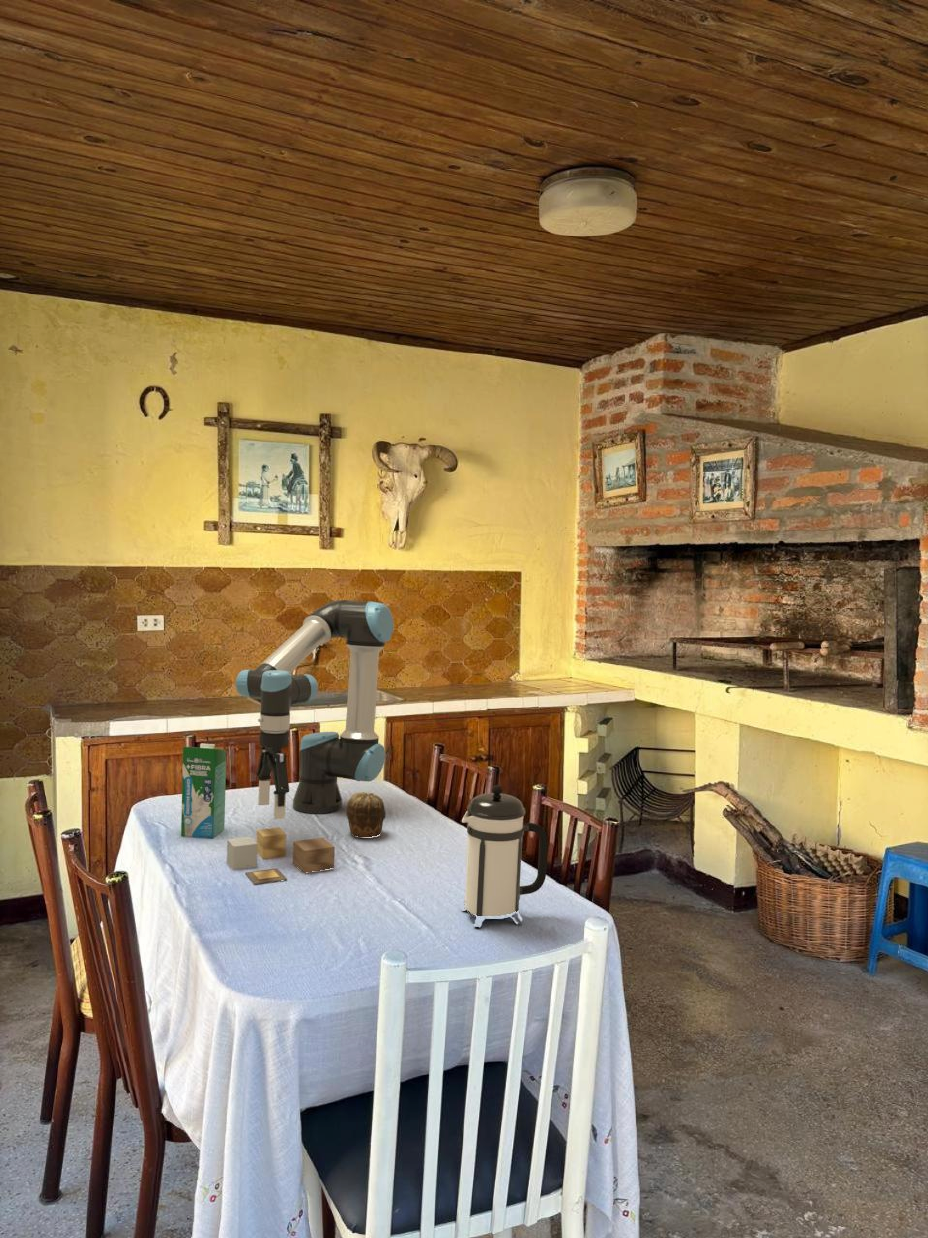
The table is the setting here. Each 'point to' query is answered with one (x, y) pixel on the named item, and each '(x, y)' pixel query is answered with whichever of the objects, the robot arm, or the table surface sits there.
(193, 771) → the milk carton
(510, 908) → the coffee press
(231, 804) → the table surface
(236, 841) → the beige cube
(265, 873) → the tile
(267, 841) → the maple cube
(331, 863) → the walnut block
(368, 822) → the shell
